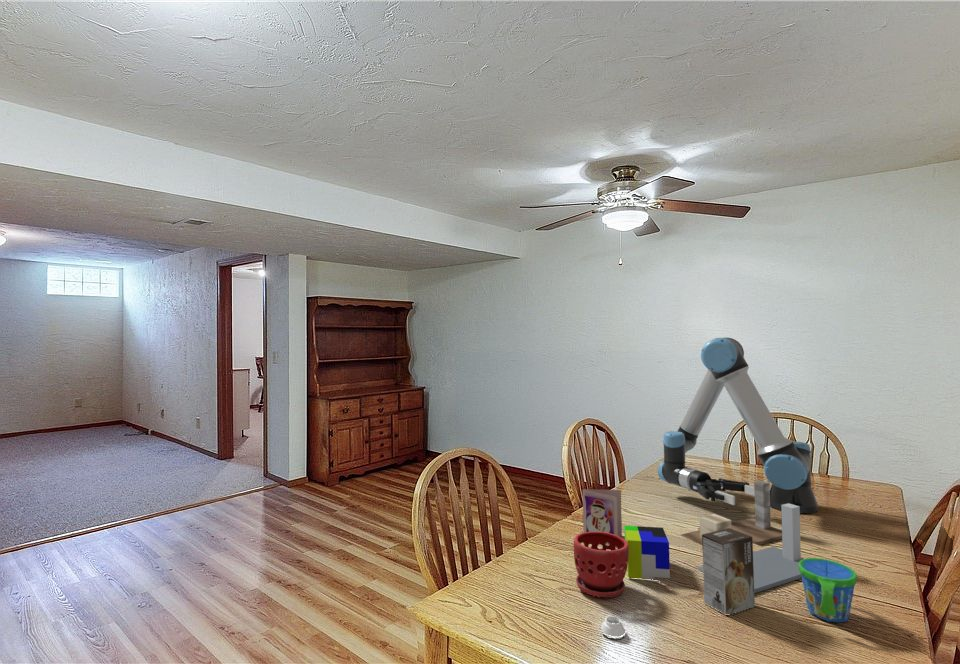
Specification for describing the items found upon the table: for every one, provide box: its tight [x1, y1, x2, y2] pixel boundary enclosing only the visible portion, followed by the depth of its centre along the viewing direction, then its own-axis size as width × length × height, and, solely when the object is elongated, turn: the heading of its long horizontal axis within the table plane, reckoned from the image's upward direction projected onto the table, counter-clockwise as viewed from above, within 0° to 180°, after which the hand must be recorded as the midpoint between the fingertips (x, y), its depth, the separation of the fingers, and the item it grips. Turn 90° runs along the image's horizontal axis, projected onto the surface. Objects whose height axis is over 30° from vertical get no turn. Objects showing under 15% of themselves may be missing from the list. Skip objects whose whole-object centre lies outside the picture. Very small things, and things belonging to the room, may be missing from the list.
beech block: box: [699, 513, 732, 538], centre depth 149 cm, size 6×6×6 cm
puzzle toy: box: [624, 525, 671, 580], centre depth 132 cm, size 10×10×10 cm
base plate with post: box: [695, 503, 805, 594], centre depth 131 cm, size 30×14×15 cm, turn 114°
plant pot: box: [573, 532, 629, 598], centre depth 124 cm, size 13×13×12 cm
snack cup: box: [799, 557, 858, 623], centre depth 110 cm, size 16×10×10 cm
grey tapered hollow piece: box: [600, 615, 626, 636], centre depth 105 cm, size 5×3×5 cm
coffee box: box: [701, 528, 756, 615], centre depth 115 cm, size 9×6×16 cm
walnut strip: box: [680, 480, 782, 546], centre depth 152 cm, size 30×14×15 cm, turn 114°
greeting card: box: [582, 488, 623, 537], centre depth 152 cm, size 11×7×15 cm, turn 47°
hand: (749, 497), depth 161 cm, fingers open, 13 cm apart
